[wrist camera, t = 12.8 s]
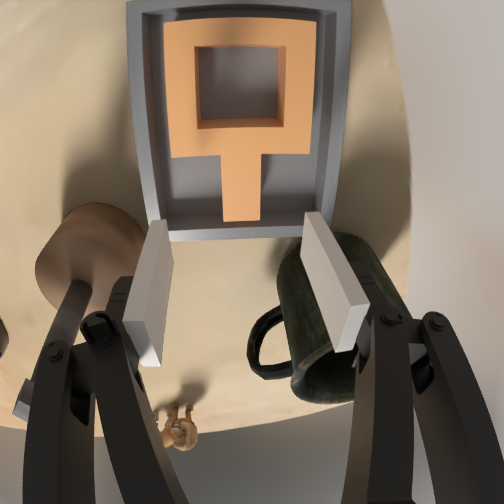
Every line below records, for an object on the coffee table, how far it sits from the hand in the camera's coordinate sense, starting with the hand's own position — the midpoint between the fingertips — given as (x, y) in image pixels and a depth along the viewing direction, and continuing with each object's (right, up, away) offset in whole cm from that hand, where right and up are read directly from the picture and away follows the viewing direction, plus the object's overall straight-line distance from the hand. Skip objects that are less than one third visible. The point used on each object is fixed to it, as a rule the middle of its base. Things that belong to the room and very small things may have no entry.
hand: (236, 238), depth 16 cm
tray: (0, +9, +5) cm, 11 cm away
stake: (-13, 0, +11) cm, 17 cm away
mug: (+7, -3, +15) cm, 17 cm away
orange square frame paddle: (0, +9, +5) cm, 10 cm away
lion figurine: (-13, -28, +31) cm, 44 cm away
